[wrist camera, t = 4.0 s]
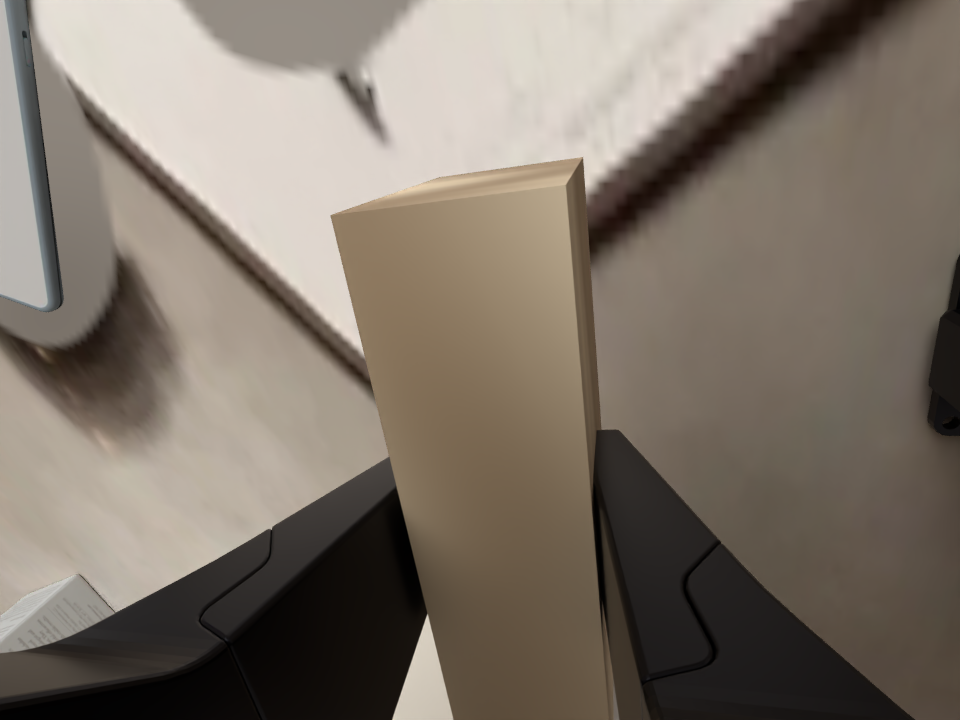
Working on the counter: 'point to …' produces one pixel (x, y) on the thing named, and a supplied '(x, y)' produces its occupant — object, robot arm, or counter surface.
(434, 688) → the tile
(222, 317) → the counter surface
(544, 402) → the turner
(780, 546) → the counter surface
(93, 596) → the skincare box
